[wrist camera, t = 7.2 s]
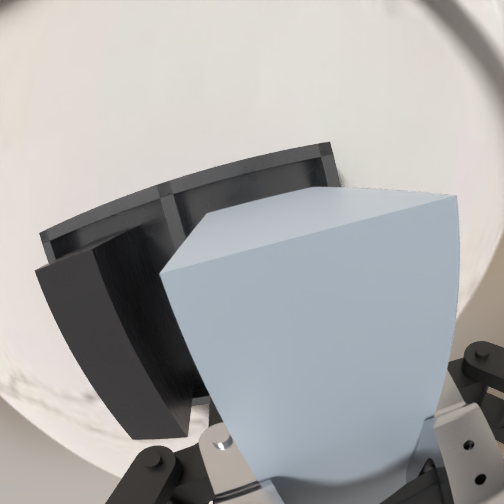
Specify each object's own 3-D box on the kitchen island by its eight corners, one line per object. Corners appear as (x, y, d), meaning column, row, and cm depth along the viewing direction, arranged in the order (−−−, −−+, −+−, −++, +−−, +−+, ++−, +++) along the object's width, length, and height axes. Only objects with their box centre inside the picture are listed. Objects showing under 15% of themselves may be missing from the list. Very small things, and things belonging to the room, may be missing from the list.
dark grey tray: (316, 147, 17) (369, 126, 10) (350, 346, 21) (390, 403, 14) (58, 227, 17) (-7, 249, 10) (135, 395, 21) (113, 456, 14)
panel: (313, 187, 10) (456, 195, 3) (344, 410, 13) (392, 507, 6) (206, 213, 10) (160, 274, 3) (275, 431, 13) (299, 538, 6)
